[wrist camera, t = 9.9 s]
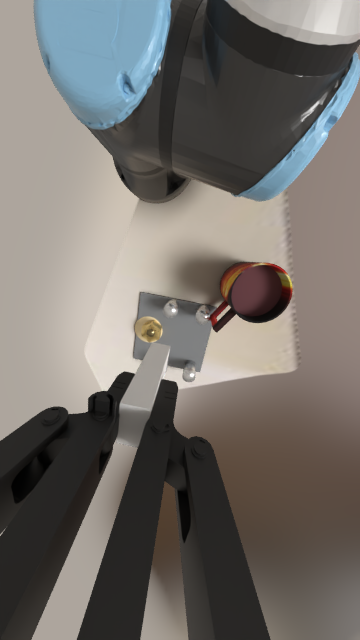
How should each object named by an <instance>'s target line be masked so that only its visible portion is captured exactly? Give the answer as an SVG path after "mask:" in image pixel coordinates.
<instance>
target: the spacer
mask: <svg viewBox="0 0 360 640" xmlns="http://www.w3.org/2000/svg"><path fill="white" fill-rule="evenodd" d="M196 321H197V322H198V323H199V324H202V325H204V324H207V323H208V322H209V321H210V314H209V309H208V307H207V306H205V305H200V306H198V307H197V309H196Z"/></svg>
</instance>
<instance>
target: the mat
mask: <svg viewBox="0 0 360 640" xmlns="http://www.w3.org/2000/svg"><path fill="white" fill-rule="evenodd" d="M170 299H174V298H169V297H164V296H159V295H154V294H149V293H144V292H141V294H140V303H139V312H138V321H137V322H136V324H135V332H136V339H135V348H134V357H133V358H135V359H140V360H143V359H144V357H145V355H146V353H147V351H148V349H149V347H150V345H151V344H152V342H148V341H147V340H146V339H144V338H143V337H142V336H141V332H142V326H143V325H144V323H146V322H149V321H152V320H155V321H157V322H158V323H159V324H160V325H161V326H162V332H161V337H160V339H159V340H156V341H153V342H154V343H159V344H163V345H168V346H170V351H169V356H168V357H169V363H168V366H173V367H178V368H182V369H184V363H185V362H186V361H187V360H192V361H194V362H195V365H196V367H195V371H196V372H200V370H201V366H202V362H203V358H204V354H205V350H206V347H207V343H208V339H209V335H210V331H211V327H212V323H211V321H209V322H208V323H207V324H204V325H202V324H199V323H198V322H197V321H196V309H197V307H198V306H200V305H204V304H199V303H194V302H189V301H184V300H179V299H176V300H177V301H178V302H179V305H180V306H179V309H178V312H177V314H176V316H175V317H173V318H168V317H166V316H165V315H164V313H163V308H164V307H165V305H166V304H167V302H168V301H169V300H170ZM205 306H207V307H208V309H209V314H210V315H211V314H212V313H213V312H214V311H215V310H216V308H217V307H213V306H208V305H205Z"/></svg>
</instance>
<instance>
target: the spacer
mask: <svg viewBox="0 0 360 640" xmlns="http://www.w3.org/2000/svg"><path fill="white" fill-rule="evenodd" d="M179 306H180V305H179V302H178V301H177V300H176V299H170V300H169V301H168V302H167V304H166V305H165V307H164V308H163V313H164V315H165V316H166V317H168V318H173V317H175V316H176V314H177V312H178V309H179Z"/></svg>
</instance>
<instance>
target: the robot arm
mask: <svg viewBox="0 0 360 640" xmlns="http://www.w3.org/2000/svg"><path fill="white" fill-rule="evenodd" d="M34 20H35V29H36V35H37V40H38V45H39V49H40V52H41V56H42V59H43V62H44V65H45V67H46V68H47V71H48V74H49V75H50V77H51V79H52V81H53V84H54V85H55V87H56V88H57V90H58V91H59V93H60V94H61V96H62V97H63V99H64V100H65V101H66V103H67V104H68V105H69V108H70V109H71V111H72V113H73V114H74V115H75V116H76V117H77V119H78V120H80V121H81V123H83V124H85V126H86V127H87V128H88V129H89V130H90V131H91V132H92V134H93V135H94V136H95V137H96V138H97V139H98V140H99V141H100V143H101V144H102V145H103V146H104V147H105V148H106V149H107V150H108V152H109V153H110V154H111V155H112V156H113V160H114V164H115V167H116V170H117V172H118V174H119V176H120V178H121V180H122V181H123V183H124V184H125V186H126V187H127V188H128V189H129V190H130V191H131V192H132V193H133V194H134V195H136V196H137V197H138V198H140V199H142V200H144V201H147V202H150V203H163V202H167V201H170V200H172V199H174V198H175V197H177V196H178V195H179V194H180V193H181V192H182V191H183V190H184V189H185V188H186V186H187V185H188V183H189V182H190V180H191V179H194V180H197V181H200V182H202V183H205V184H208V185H211V186H213V187H216V188H219V189H221V190H224V191H227V192H230V193H231V194H232V195H233V196H235V197H245V198H248V199H251V200H254V201H259V202H260V201H266V200H270V199H272V198H274V197H275V196H277V195H278V194H280V193H281V192H282V191H284V190H285V189H286V188H287V187H288V186H289V185H290V184H291V183H292V182H293V181H294V180H295V179H296V178H297V177H298V175H299V174H300V173H301V172H302V171H303V169H304V168H305V167H306V166H307V165H308V164H309V162H310V161H311V160H312V158H313V157H314V156H315V154H316V153H317V152H318V150H319V149H320V148H321V146H322V145H323V143H324V142H325V140H326V139H327V137H328V132H329V130H330V129H331V128H332V126H333V125H334V124H335V123H336V122H337V121H338V120H339V118H340V117H341V115H342V113H343V111H344V110H345V108H346V106H347V104H348V102H349V101H350V99H351V97H352V95H353V93H354V90H355V88H356V86H357V83H358V80H359V76H360V60H359V59H358V54H357V53H356V52H355V51H356V49H357V48H358V46H359V45H360V0H34ZM169 351H170V346H168V345H163V344H159V343H154V342H152V344H151V345H150V347H149V349H148V351H147V353H146V355H145V357H144V359H143V360H142V362H141V364H140V366H139V368H138V370H137V372H136V374H134V373H129V372H122V373H121V374H119V375H118V376H117V378H116V379H115V381H114V382H113V384H112V385H111V387H110V388H109V390H108V391H101V392H97V393H95V394H92V395H91V396H90V397H89V398H88V412H86V413H79V414H68V411H67V410H66V409H65V408H63V407H51V408H48V409H45V410H44V411H42V412H40V413H39V414H37V415H36V416H35V417H33V418H32V419H30V420H29V421H28V422H26V423H25V424H23V425H22V426H21V427H19V428H18V429H17V430H15V431H14V432H13V433H11V434H10V435H8V436H7V437H5V438H4V439H3V440H1V441H0V534H1V533H2V532H3V530H4V529H5V528H6V527H7V528H6V529H5V531H4V532H3V534H2V535H1V536H0V640H31V639H32V637H33V634H34V632H35V630H36V627H37V625H38V622H39V620H40V618H41V616H42V613H43V611H44V609H45V607H46V604H47V602H48V600H49V597H50V595H51V592H52V590H53V588H54V586H55V583H56V581H57V579H58V576H59V574H60V572H61V570H62V567H63V565H64V563H65V560H66V558H67V556H68V554H69V551H70V549H71V547H72V544H73V542H74V540H75V537H76V535H77V532H78V531H79V528H80V526H81V524H82V521H83V519H84V517H85V514H86V512H87V510H88V507H89V505H90V503H91V500H92V498H93V496H94V494H95V491H96V489H97V487H98V484H99V482H100V480H101V478H102V475H103V473H104V471H105V468H106V466H107V464H108V461H109V459H110V457H111V454H112V450H113V444H114V442H115V440H116V438H117V441H116V442H117V443H119V444H123V445H128V446H132V447H137V448H138V449H137V452H136V455H135V459H134V462H133V465H132V468H131V471H130V474H129V477H128V481H127V484H126V487H125V490H124V493H123V496H122V499H121V503H120V506H119V509H118V513H117V515H116V518H115V522H114V525H113V528H112V531H111V534H110V537H109V540H108V543H107V546H106V550H105V553H104V556H103V559H102V562H101V565H100V568H99V572H98V575H97V578H96V581H95V584H94V587H93V590H92V594H91V597H90V600H89V603H88V606H87V609H86V612H85V616H84V619H83V622H82V625H81V628H80V632H79V635H78V638H77V640H140V637H141V630H142V624H143V617H144V611H145V604H146V598H147V591H148V585H149V578H150V572H151V565H152V559H153V552H154V546H155V538H156V533H157V526H158V520H159V513H160V507H161V500H162V494H163V487H164V481H166V482H167V483H168V484H170V485H171V486H172V487H174V488H175V498H176V509H177V519H178V530H179V541H180V552H181V562H182V573H183V584H184V594H185V605H186V616H187V626H188V637H189V640H270V636H269V633H268V630H267V626H266V623H265V620H264V616H263V613H262V610H261V607H260V604H259V600H258V597H257V593H256V590H255V587H254V584H253V580H252V577H251V573H250V570H249V567H248V564H247V560H246V557H245V553H244V550H243V547H242V543H241V540H240V537H239V534H238V530H237V527H236V524H235V520H234V517H233V514H232V510H231V507H230V504H229V500H228V497H227V494H226V490H225V487H224V484H223V480H222V477H221V474H220V470H219V467H218V464H217V460H216V457H215V454H214V450H213V449H212V446H211V444H210V443H209V442H208V441H207V440H205V439H203V438H202V437H197V436H195V437H191V438H190V439H188V438H186V437H184V436H182V435H181V434H180V433H179V432H177V430H176V429H175V427H174V424H173V418H174V411H175V406H176V399H177V393H178V386H177V383H176V382H174V381H169V380H164V377H165V373H166V367H167V362H168V356H169Z"/></svg>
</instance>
